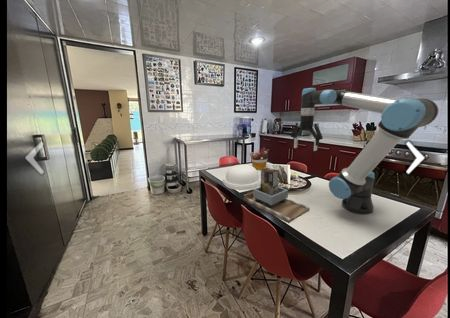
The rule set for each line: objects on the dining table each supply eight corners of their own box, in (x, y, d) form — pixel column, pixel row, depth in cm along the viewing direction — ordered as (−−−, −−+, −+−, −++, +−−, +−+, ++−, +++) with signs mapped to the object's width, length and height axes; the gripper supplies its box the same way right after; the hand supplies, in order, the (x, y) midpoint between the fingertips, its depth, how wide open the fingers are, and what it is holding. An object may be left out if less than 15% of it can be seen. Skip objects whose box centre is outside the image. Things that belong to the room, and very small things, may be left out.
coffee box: (278, 194, 120) (279, 170, 116) (272, 198, 116) (273, 172, 112) (265, 190, 127) (266, 167, 123) (260, 194, 122) (260, 169, 118)
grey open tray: (287, 201, 120) (288, 190, 118) (271, 209, 112) (272, 197, 110) (268, 194, 132) (269, 183, 130) (253, 200, 123) (253, 189, 121)
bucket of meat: (260, 172, 180) (260, 151, 175) (246, 169, 191) (246, 149, 186) (272, 167, 194) (272, 147, 189) (258, 164, 205) (258, 146, 200)
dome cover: (258, 175, 172) (258, 160, 168) (265, 189, 143) (265, 171, 139) (223, 177, 172) (222, 161, 169) (222, 190, 143) (221, 173, 140)
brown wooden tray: (309, 210, 112) (309, 203, 111) (288, 222, 100) (288, 216, 99) (264, 191, 138) (264, 186, 137) (243, 200, 127) (243, 194, 126)
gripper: (286, 115, 126) (284, 147, 131) (324, 115, 106) (321, 153, 111) (293, 114, 130) (291, 145, 135) (331, 114, 110) (327, 151, 116)
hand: (305, 149), depth 123 cm, fingers open, 13 cm apart
